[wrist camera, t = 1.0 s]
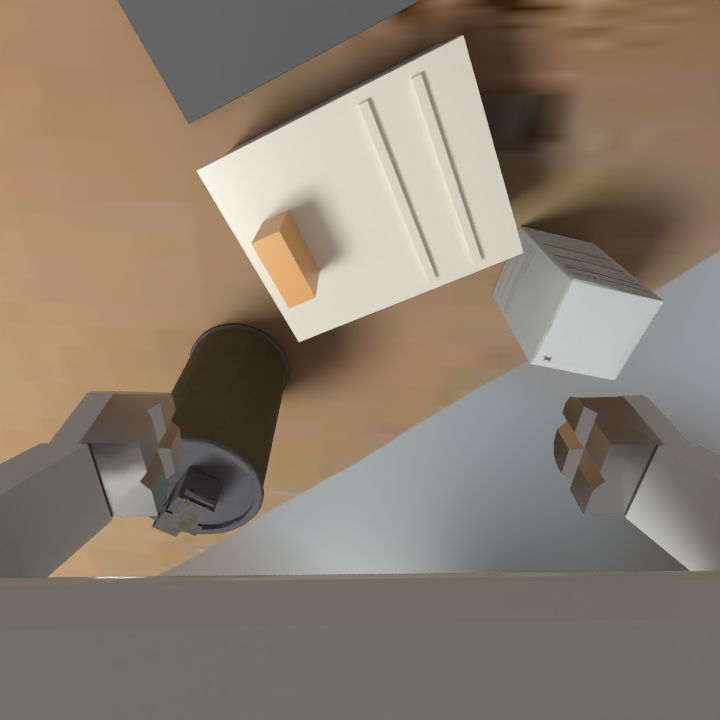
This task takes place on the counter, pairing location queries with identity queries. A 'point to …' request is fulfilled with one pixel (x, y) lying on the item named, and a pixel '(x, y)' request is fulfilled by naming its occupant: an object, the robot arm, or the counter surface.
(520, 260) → the supplement box
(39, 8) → the counter surface
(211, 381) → the canister
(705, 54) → the counter surface
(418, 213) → the lid
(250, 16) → the mat
